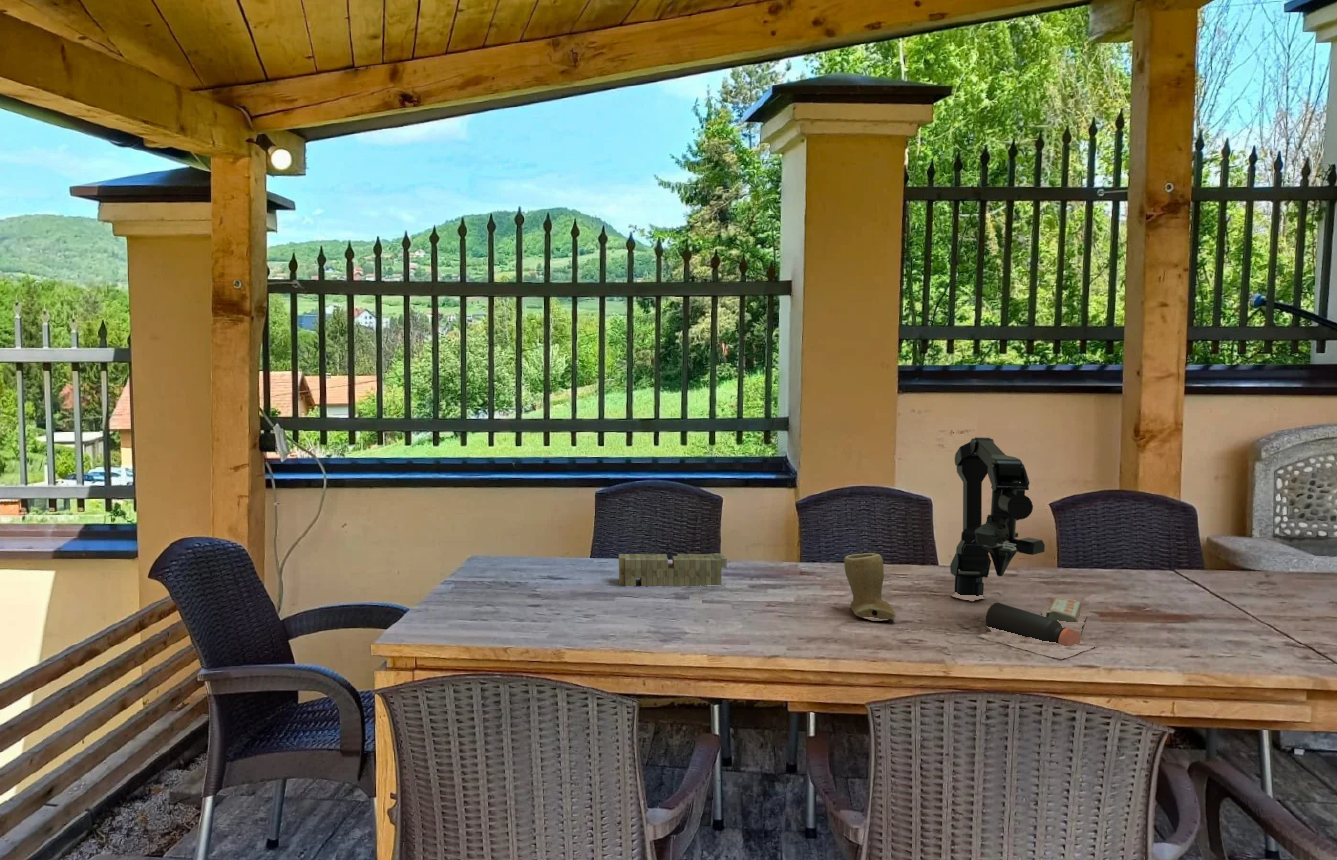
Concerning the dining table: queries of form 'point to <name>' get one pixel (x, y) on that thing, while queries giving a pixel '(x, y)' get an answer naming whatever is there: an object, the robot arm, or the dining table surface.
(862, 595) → the olive green boot
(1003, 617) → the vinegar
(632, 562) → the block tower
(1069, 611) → the packaged product
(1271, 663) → the dining table surface
